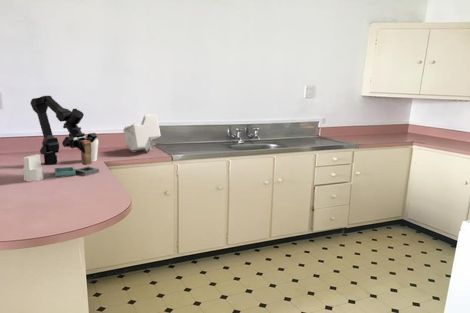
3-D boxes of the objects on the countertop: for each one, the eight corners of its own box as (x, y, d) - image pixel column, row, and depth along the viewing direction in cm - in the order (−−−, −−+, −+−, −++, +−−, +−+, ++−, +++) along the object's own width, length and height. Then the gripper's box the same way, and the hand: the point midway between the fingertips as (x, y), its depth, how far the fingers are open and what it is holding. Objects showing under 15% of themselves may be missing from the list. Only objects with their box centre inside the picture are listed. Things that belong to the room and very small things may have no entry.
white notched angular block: (136, 152, 254) (129, 115, 255) (126, 156, 266) (119, 120, 267) (163, 149, 267) (156, 114, 269) (152, 153, 279) (146, 119, 280)
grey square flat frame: (74, 173, 211) (74, 169, 211) (88, 169, 219) (88, 166, 218) (85, 175, 207) (85, 172, 206) (99, 172, 214) (99, 168, 214)
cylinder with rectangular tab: (35, 181, 194) (33, 158, 191) (19, 180, 196) (17, 157, 193) (47, 177, 203) (45, 154, 200) (32, 175, 204) (30, 153, 202)
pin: (81, 164, 211) (80, 140, 208) (87, 163, 214) (86, 140, 211) (86, 165, 209) (84, 141, 206) (91, 164, 212) (90, 140, 209)
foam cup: (88, 163, 234) (87, 142, 231) (80, 160, 239) (78, 140, 237) (102, 160, 241) (101, 140, 239) (93, 158, 247) (92, 138, 244)
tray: (55, 177, 202) (54, 172, 202) (54, 172, 211) (54, 168, 211) (75, 175, 207) (75, 171, 206) (74, 171, 216) (74, 166, 215)
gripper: (82, 136, 224) (95, 157, 221) (52, 140, 209) (66, 163, 206) (90, 124, 219) (104, 145, 215) (60, 127, 203) (74, 151, 200)
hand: (87, 151), depth 209 cm, fingers closed on pin, 4 cm apart
